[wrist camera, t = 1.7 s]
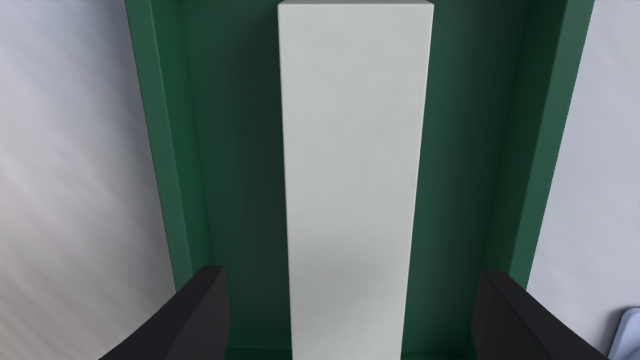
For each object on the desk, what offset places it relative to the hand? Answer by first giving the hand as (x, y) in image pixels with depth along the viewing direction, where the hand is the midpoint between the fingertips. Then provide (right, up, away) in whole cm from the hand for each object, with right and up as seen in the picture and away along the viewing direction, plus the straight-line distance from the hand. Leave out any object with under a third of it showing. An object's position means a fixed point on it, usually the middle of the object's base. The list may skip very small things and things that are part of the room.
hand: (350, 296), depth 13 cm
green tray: (0, +3, +6) cm, 7 cm away
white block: (0, +3, +6) cm, 7 cm away
